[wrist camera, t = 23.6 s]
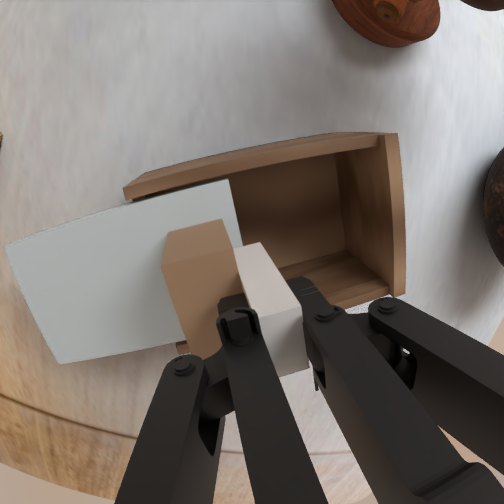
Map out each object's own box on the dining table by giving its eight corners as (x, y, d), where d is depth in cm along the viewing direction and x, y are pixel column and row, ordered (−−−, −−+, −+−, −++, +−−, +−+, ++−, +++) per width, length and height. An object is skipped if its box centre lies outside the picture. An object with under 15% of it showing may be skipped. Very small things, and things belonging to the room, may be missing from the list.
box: (144, 172, 24) (120, 189, 15) (337, 132, 25) (397, 133, 17) (180, 297, 28) (179, 360, 19) (352, 252, 29) (405, 293, 21)
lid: (10, 242, 16) (-40, 279, 11) (226, 177, 18) (242, 194, 12) (62, 356, 20) (38, 413, 14) (256, 313, 21) (279, 371, 16)
